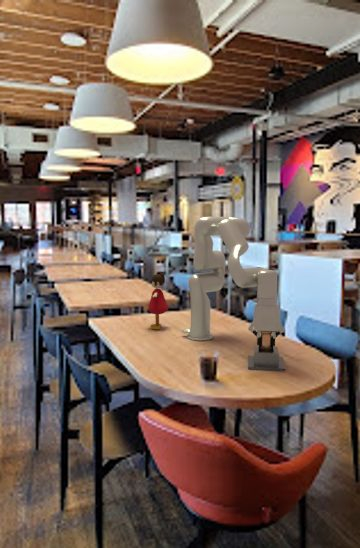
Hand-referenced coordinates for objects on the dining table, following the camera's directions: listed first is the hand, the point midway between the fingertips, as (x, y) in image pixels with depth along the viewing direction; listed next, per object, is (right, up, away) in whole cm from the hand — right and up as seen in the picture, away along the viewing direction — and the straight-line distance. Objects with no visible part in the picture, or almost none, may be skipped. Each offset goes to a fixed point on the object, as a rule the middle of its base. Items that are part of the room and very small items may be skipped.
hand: (265, 346), depth 167 cm
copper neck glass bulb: (0, -3, 0) cm, 3 cm away
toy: (-45, 0, +57) cm, 73 cm away
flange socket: (0, -7, +1) cm, 7 cm away
